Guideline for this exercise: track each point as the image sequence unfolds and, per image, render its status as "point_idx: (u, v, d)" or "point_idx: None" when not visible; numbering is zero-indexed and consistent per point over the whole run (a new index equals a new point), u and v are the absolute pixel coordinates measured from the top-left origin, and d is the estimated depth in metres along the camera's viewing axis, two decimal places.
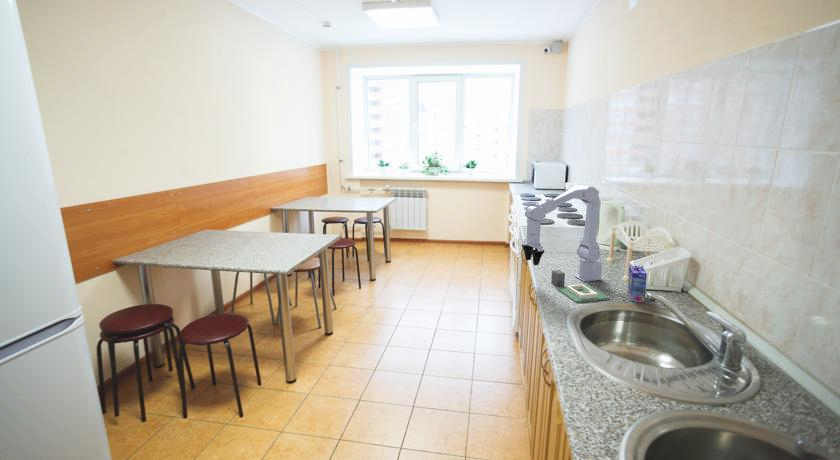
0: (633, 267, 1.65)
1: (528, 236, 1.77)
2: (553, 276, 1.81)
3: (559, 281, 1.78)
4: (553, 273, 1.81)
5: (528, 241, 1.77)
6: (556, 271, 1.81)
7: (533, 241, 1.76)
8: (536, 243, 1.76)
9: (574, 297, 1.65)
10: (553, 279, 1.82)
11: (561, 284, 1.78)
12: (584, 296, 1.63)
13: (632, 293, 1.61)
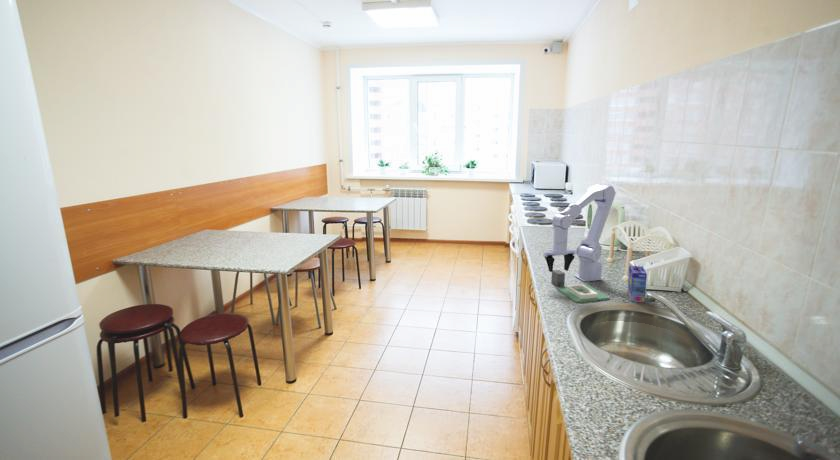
0: (633, 267, 1.65)
1: None
2: (553, 276, 1.81)
3: (559, 281, 1.78)
4: (553, 273, 1.81)
5: None
6: (556, 271, 1.81)
7: (553, 247, 1.78)
8: (554, 250, 1.77)
9: (574, 297, 1.65)
10: (553, 279, 1.82)
11: (561, 284, 1.78)
12: (584, 296, 1.63)
13: (632, 293, 1.61)
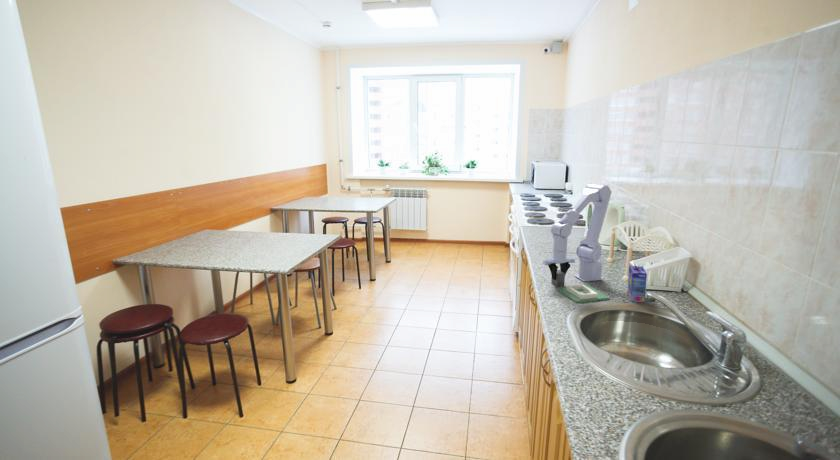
0: (633, 267, 1.65)
1: None
2: None
3: (559, 281, 1.78)
4: None
5: None
6: None
7: None
8: (553, 259, 1.78)
9: (574, 297, 1.65)
10: None
11: (561, 284, 1.78)
12: (584, 296, 1.63)
13: (632, 293, 1.61)
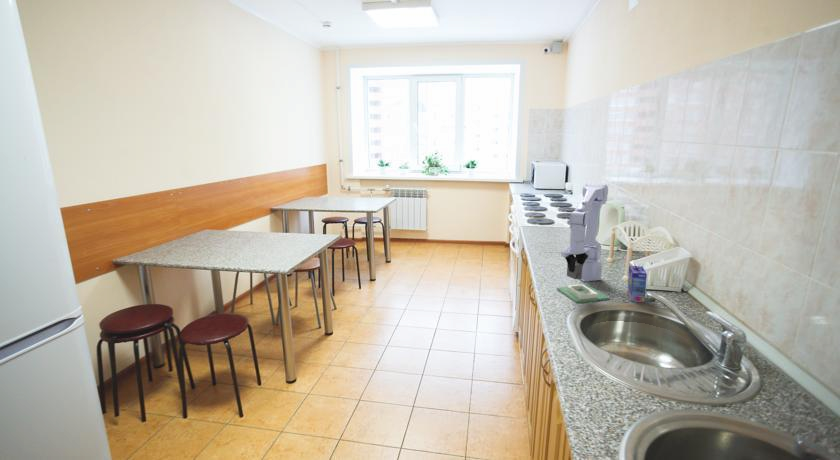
0: (633, 267, 1.65)
1: None
2: None
3: (577, 273, 1.69)
4: None
5: None
6: None
7: None
8: (571, 250, 1.67)
9: (574, 297, 1.65)
10: (569, 271, 1.72)
11: (579, 276, 1.68)
12: (584, 296, 1.63)
13: (632, 293, 1.61)
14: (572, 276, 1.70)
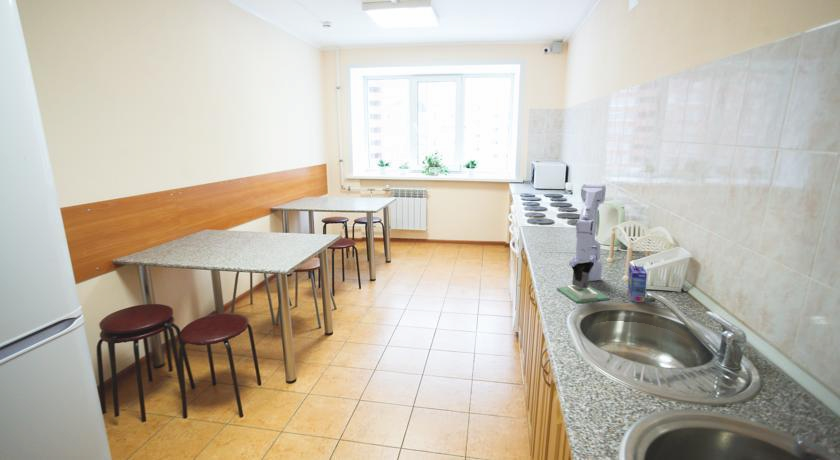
0: (633, 267, 1.65)
1: None
2: None
3: (584, 282, 1.66)
4: None
5: None
6: None
7: (576, 255, 1.66)
8: (578, 258, 1.64)
9: (574, 297, 1.65)
10: (575, 280, 1.69)
11: (586, 285, 1.66)
12: (584, 296, 1.63)
13: (632, 293, 1.61)
14: (579, 285, 1.67)
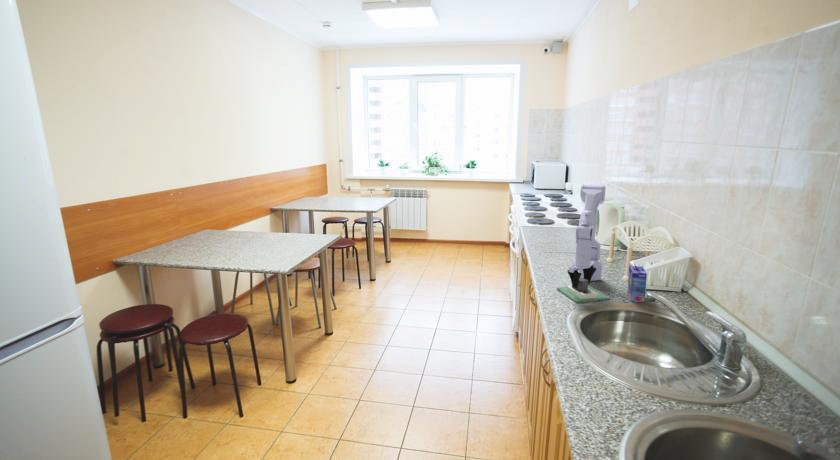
0: (633, 267, 1.65)
1: None
2: None
3: (584, 289, 1.67)
4: None
5: None
6: None
7: (576, 261, 1.66)
8: (578, 265, 1.65)
9: (574, 297, 1.65)
10: (574, 287, 1.69)
11: (586, 292, 1.67)
12: (584, 296, 1.63)
13: (632, 293, 1.61)
14: None
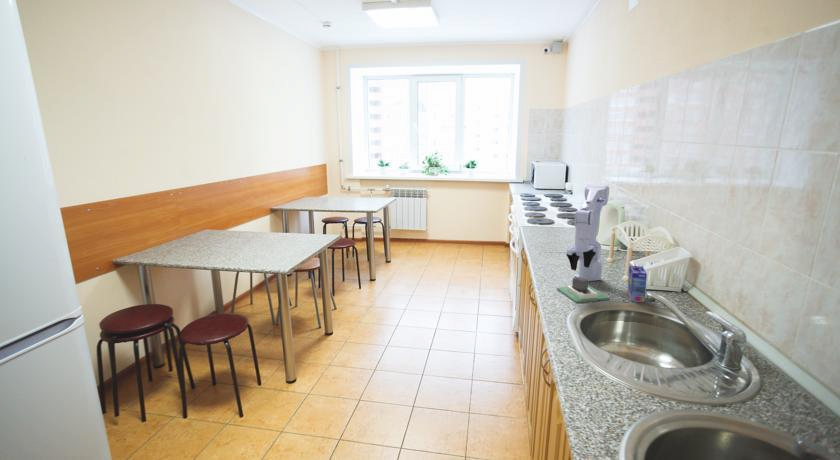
0: (633, 267, 1.65)
1: None
2: (575, 284, 1.69)
3: (584, 289, 1.67)
4: (575, 281, 1.69)
5: None
6: (578, 278, 1.69)
7: (575, 245, 1.72)
8: (577, 248, 1.70)
9: (574, 297, 1.65)
10: (574, 287, 1.69)
11: (586, 292, 1.67)
12: (584, 296, 1.63)
13: (632, 293, 1.61)
14: None
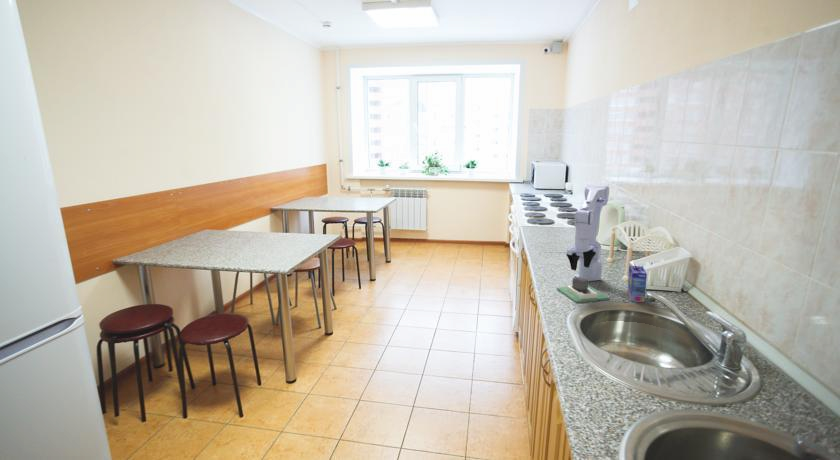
0: (633, 267, 1.65)
1: None
2: (575, 284, 1.69)
3: (584, 289, 1.67)
4: (575, 281, 1.69)
5: None
6: (578, 278, 1.69)
7: (575, 245, 1.72)
8: (577, 248, 1.70)
9: (574, 297, 1.65)
10: (574, 287, 1.69)
11: (586, 292, 1.67)
12: (584, 296, 1.63)
13: (632, 293, 1.61)
14: None
